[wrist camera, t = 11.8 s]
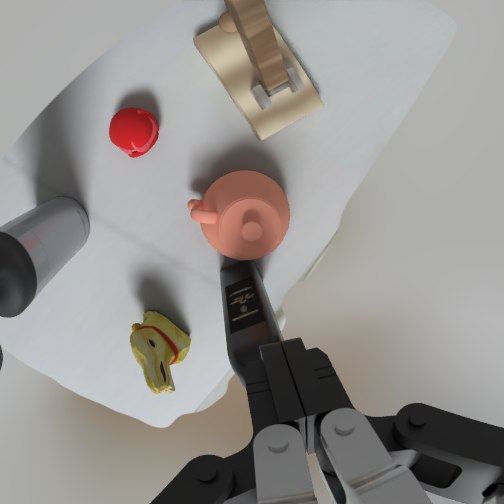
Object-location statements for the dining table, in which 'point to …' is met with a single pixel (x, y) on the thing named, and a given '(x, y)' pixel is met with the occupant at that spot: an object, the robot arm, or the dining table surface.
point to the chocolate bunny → (158, 349)
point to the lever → (259, 41)
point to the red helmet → (134, 131)
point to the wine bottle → (246, 315)
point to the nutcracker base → (246, 83)
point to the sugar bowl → (243, 214)
